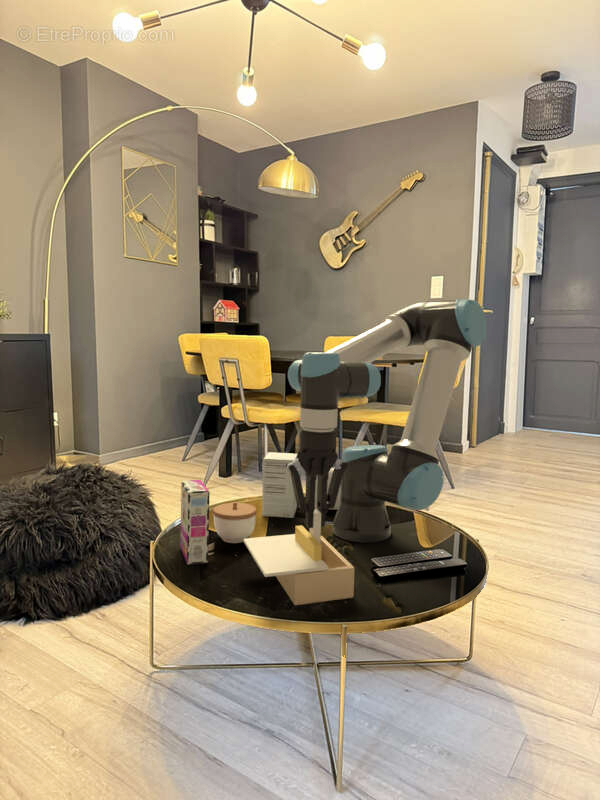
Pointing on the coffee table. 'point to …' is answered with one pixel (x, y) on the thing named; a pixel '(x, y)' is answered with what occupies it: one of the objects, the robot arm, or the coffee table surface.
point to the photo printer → (327, 490)
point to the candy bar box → (194, 521)
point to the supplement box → (278, 486)
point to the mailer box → (321, 579)
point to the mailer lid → (287, 553)
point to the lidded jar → (234, 521)
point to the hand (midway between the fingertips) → (314, 542)
